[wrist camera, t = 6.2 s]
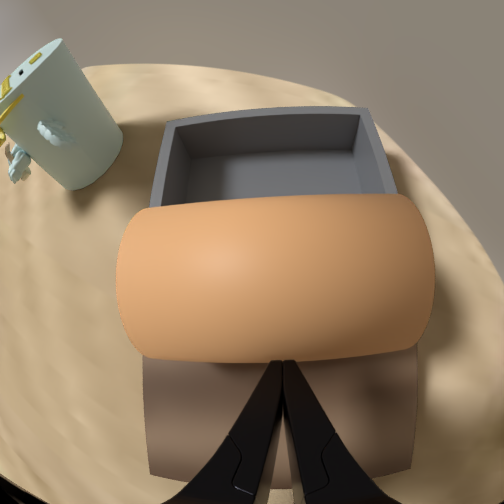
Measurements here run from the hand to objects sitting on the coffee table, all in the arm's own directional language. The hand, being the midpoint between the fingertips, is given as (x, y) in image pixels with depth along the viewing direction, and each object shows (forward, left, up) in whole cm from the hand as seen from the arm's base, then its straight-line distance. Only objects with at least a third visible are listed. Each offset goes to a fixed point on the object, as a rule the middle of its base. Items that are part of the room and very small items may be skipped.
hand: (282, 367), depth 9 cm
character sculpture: (+26, +6, -8) cm, 28 cm away
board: (-2, +1, -8) cm, 8 cm away
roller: (+3, -2, -2) cm, 4 cm away
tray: (+8, -6, -8) cm, 13 cm away
